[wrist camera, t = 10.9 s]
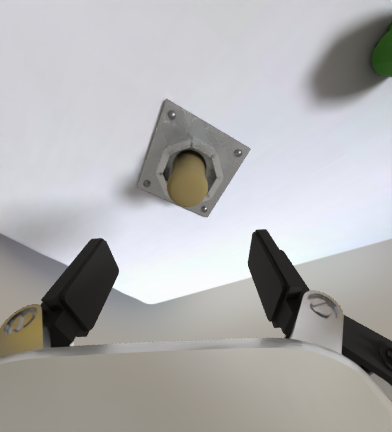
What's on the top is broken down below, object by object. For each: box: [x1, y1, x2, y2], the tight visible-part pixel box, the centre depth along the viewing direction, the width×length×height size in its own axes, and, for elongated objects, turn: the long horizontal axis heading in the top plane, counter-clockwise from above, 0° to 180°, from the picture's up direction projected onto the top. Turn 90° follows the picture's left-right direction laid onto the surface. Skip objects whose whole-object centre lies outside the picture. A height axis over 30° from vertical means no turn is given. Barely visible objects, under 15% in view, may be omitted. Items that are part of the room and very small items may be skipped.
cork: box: [167, 150, 208, 207], centre depth 24 cm, size 6×6×11 cm
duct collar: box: [137, 99, 250, 217], centre depth 27 cm, size 15×15×5 cm
